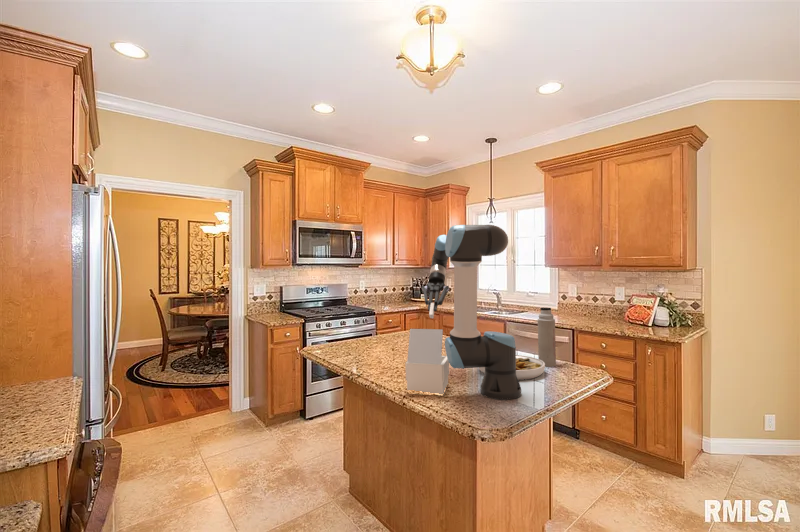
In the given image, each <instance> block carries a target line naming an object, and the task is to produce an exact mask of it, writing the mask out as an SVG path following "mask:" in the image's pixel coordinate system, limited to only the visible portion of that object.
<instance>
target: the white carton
mask: <svg viewBox="0 0 800 532" xmlns="http://www.w3.org/2000/svg"><path fill="white" fill-rule="evenodd" d="M404 368H405V381H406V391H407V390H415V391H422V392H430V393H439V394H443V393H444V390H445V388H446V386H447V384H448V385H449V374H450V364H449V361H448V358H447V355H442V357H441V364H426V363H407V361H406V362H405V367H404ZM444 394H445V393H444Z"/></svg>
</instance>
